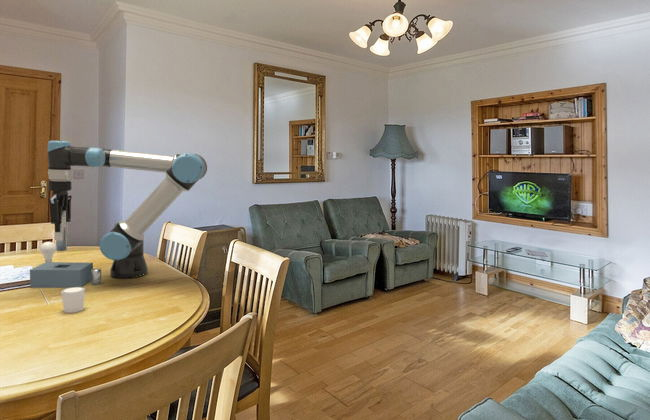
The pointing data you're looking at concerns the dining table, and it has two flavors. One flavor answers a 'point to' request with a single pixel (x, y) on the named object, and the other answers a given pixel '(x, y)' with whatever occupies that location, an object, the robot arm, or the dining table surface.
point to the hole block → (60, 275)
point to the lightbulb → (48, 250)
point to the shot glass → (73, 299)
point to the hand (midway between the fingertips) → (61, 238)
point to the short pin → (96, 276)
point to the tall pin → (62, 244)
